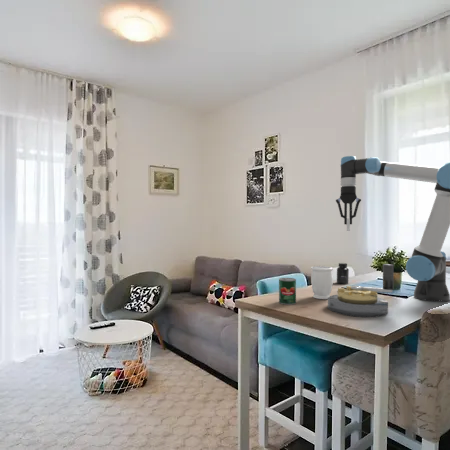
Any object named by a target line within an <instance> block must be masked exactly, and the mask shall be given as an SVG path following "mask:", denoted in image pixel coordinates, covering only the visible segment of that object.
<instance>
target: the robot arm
mask: <svg viewBox="0 0 450 450" xmlns="http://www.w3.org/2000/svg"><path fill="white" fill-rule="evenodd" d="M362 174H364V175H365V174H366V175H367V174H368V175H371V176H372V175H374V176H377V177H385V178H386V177H387V178H395V179H403V180H411V181H416V182H417V181H418V182H424V183H425V182H427V183H433V184H435V187H434V192H435V193H436V196H435V198H434V202H433V205H432V208H431V210H430V212H429V213H430V214H429V217H428V219H427V222H426V225H425V228H424V231H423V233H422V237H421V239H420V243H419V245H418V246H415V247H414V249H413V251H412V254H411V257H409V259H407V261H406V263H405V270H406V273H407V274H408V276H410V278H412V279H413V280H415V281H417V283H416V286H415V288H414V291H413V297H414V298H415V299H418V300H422V301H429V302H449V301H450V291H449V288H448V286H447V276H446V275H447V255H446V252H444V251H441V250H442V248H443V245H444V243H445V241H446V237H447V235H448V231H449V229H450V161H448V162H446V163H444V164H442V165H440V167H439V166H429V165H421V164H420V165H419V164H410V163H400V162H390V161H389V162H388V161H381V160H380V158H379V157H376V156H375V157H367V158H360V159H357V157H356V156H354V155H347V156H343V157H341V160H340V186H341V187H340V196H339V198H337V199H335V202H336V204H337V207H338V210H339V216H340V217H341V218H343V220H344V221H343V222H344V223H343V224H344V225H346V232H350V231H351V229H350V228H351V225H353V218H355V217H357V213H358V209H359V205H360V202H361V201H362V199H361V198H358V197H357V187H356V185H357V184H356V183H357V175H362ZM341 202H342V203H343V204H344V205H343V206H344V207H343V209H344V210H343V209H342V206H341V205H342V204H341ZM354 202H356V203H355V207H354V211H353V204H354ZM348 206H349V207H348ZM348 208H349V211H348ZM343 211H344V212H343ZM348 212H349V215H348ZM348 217H349V218H348Z"/></svg>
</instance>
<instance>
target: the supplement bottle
mask: <svg viewBox="0 0 450 450" xmlns="http://www.w3.org/2000/svg"><path fill="white" fill-rule="evenodd" d="M349 271H350V270H349V268H348V263H345V262H339V263H338V267H337V268H336V283H337V284H340V285H348V284H349V281H350V280H349V278H350V277H349V275H350V274H349V273H350V272H349Z"/></svg>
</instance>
